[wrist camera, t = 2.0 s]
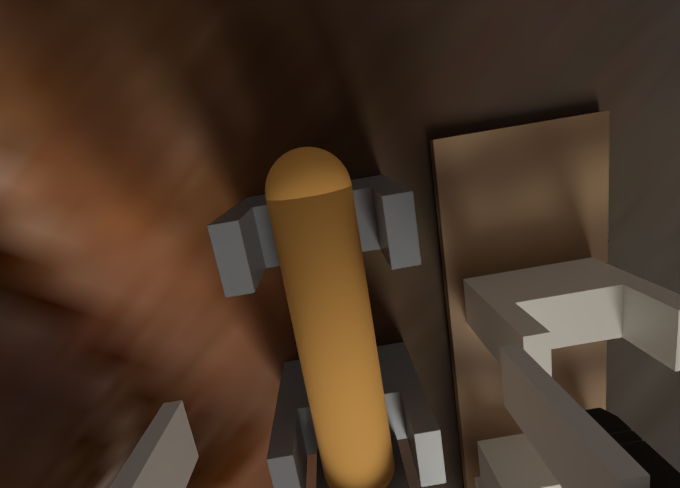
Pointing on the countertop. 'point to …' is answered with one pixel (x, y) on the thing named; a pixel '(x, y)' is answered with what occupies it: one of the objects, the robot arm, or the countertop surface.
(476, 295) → the clips
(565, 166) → the clip rail
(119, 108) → the countertop surface
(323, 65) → the countertop surface
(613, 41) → the countertop surface
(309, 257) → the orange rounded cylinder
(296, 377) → the grey cradle stand
